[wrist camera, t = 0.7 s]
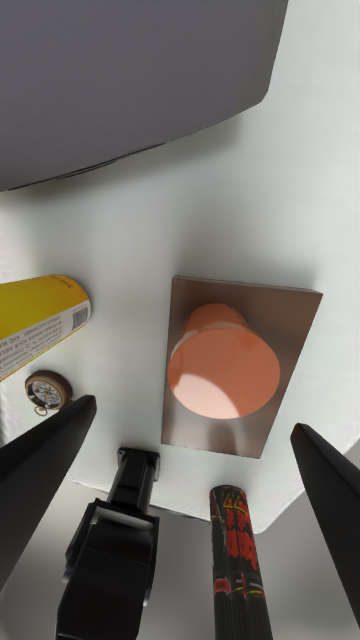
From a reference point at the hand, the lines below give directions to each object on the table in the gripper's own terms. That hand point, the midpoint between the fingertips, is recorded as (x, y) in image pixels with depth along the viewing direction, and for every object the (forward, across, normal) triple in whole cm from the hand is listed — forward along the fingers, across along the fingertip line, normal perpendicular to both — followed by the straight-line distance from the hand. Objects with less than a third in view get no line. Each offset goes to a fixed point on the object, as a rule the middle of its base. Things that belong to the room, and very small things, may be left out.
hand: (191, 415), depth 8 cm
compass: (+12, +18, +13) cm, 26 cm away
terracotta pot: (+10, -2, +1) cm, 10 cm away
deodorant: (+12, -9, +31) cm, 34 cm away
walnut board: (+12, -4, +7) cm, 14 cm away
